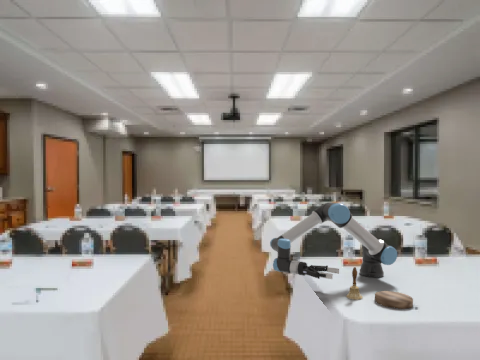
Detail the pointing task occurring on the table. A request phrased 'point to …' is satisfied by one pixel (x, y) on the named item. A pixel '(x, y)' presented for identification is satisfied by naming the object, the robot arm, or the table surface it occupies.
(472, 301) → the table surface
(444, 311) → the table surface
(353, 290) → the hand bell
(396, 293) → the walnut stand
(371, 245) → the robot arm
